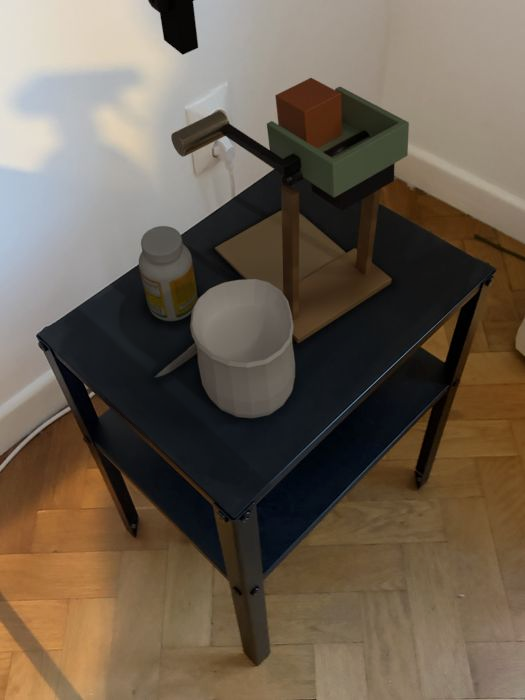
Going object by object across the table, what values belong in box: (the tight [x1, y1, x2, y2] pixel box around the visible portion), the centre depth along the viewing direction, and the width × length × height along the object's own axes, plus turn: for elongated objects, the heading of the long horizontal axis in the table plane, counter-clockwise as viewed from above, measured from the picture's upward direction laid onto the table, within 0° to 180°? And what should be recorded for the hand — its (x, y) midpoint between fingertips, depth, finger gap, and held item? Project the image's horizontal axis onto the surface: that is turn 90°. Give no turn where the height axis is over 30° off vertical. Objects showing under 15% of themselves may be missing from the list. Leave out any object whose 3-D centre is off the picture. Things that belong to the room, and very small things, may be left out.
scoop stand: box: [280, 185, 393, 344], centre depth 71 cm, size 6×13×18 cm, turn 127°
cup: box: [189, 279, 296, 419], centre depth 68 cm, size 10×10×10 cm
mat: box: [214, 209, 347, 292], centre depth 82 cm, size 10×11×1 cm
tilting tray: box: [170, 86, 410, 212], centre depth 64 cm, size 15×16×5 cm
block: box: [275, 77, 342, 148], centre depth 63 cm, size 4×4×4 cm
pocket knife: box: [154, 342, 198, 379], centre depth 74 cm, size 14×1×2 cm, turn 131°
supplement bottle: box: [138, 225, 199, 322], centre depth 75 cm, size 5×5×10 cm
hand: (181, 43), depth 58 cm, fingers closed
